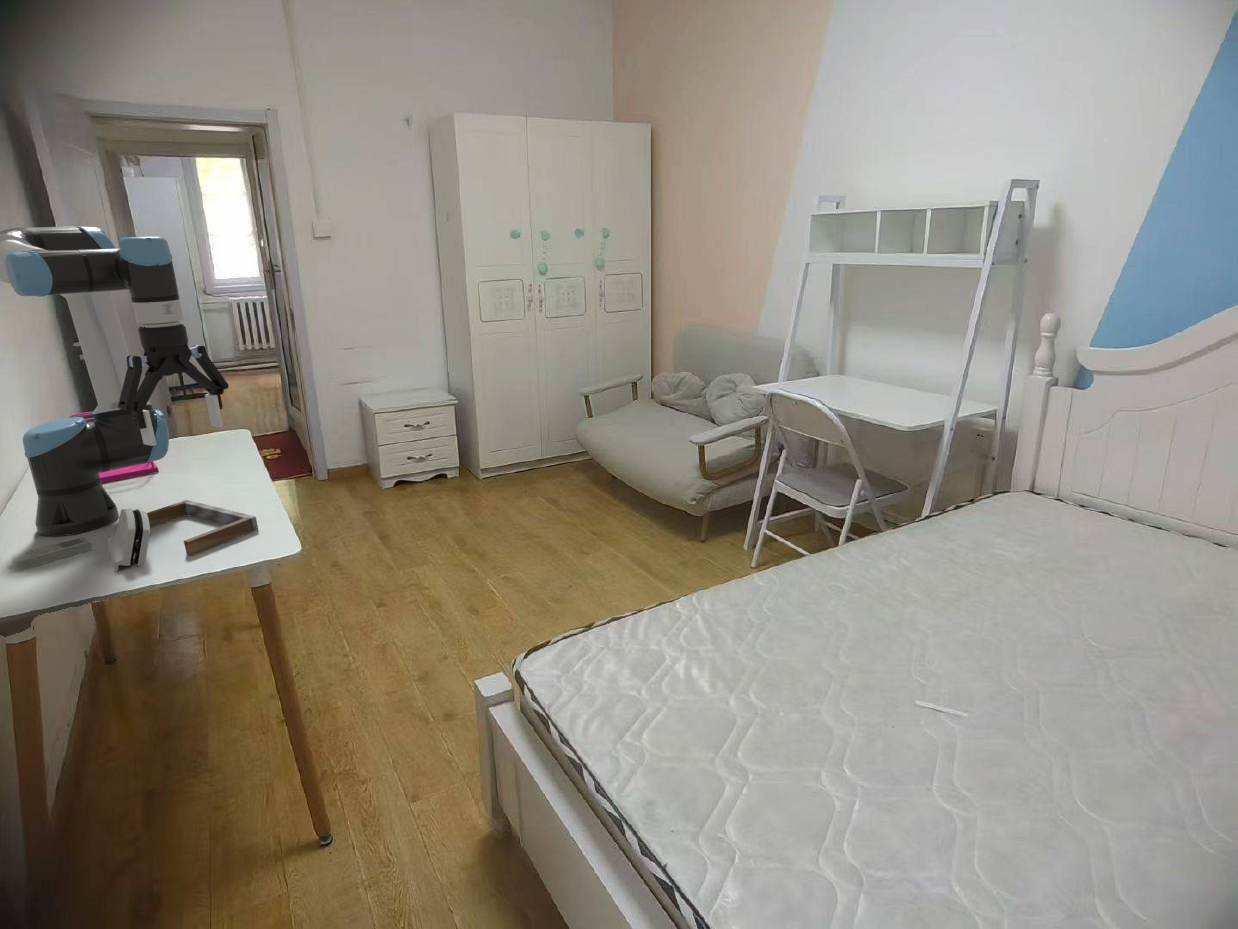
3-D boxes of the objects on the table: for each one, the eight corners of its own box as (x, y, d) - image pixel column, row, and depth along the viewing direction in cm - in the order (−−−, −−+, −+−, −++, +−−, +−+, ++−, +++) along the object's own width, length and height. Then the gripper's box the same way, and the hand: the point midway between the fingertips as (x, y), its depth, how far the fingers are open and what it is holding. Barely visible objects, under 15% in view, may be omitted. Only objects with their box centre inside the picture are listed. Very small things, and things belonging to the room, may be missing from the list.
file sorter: (82, 487, 192) (67, 429, 187) (74, 467, 210) (59, 413, 205) (159, 473, 202) (146, 417, 197) (144, 454, 221) (132, 403, 216)
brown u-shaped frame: (122, 535, 159) (118, 522, 158) (189, 511, 171) (186, 499, 170) (191, 555, 147) (188, 542, 146) (258, 529, 159) (255, 516, 158)
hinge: (107, 546, 153) (115, 500, 152) (134, 547, 156) (142, 502, 155) (114, 572, 141) (123, 522, 140) (143, 573, 144) (152, 524, 143)
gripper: (102, 334, 123) (131, 455, 130) (235, 316, 144) (254, 421, 151) (76, 332, 126) (106, 450, 133) (210, 315, 148) (230, 418, 154)
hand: (185, 435), depth 142 cm, fingers open, 13 cm apart
